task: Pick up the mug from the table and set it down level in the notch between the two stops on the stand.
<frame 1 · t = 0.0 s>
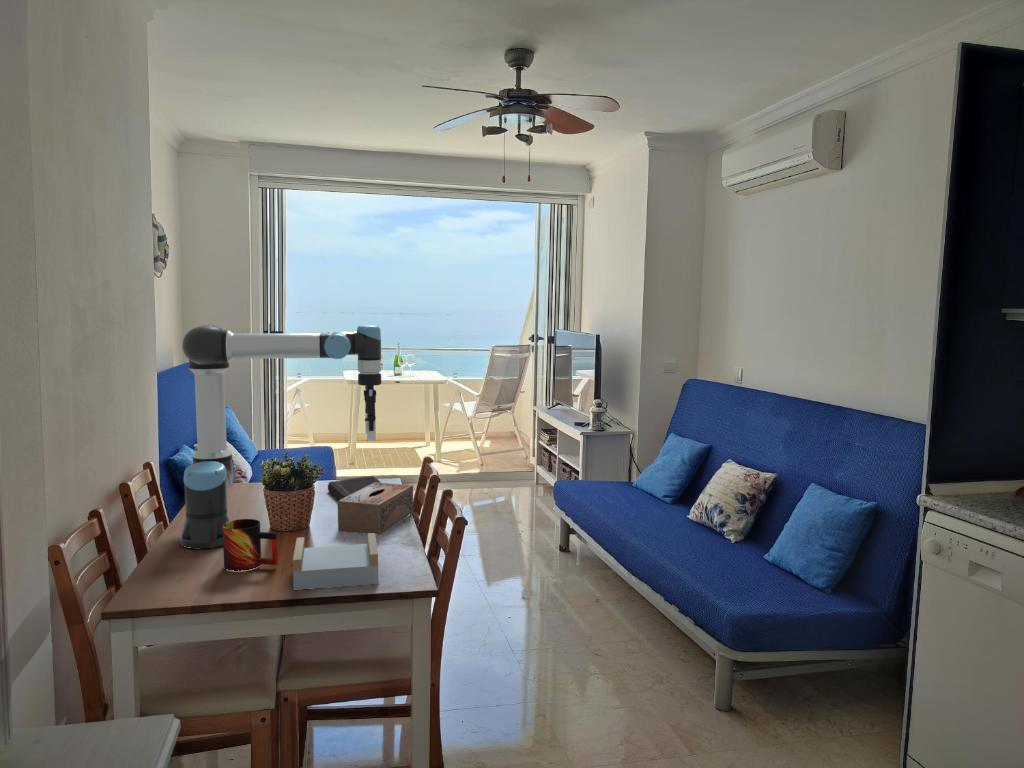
hand: (370, 437, 244), 28 cm above the table, tool pointing down, fingers open, 13 cm apart
diary: (361, 498, 276), on the table
mug: (251, 566, 204), on the table
notched stand: (336, 574, 197), on the table
tissue box cover: (377, 522, 245), on the table
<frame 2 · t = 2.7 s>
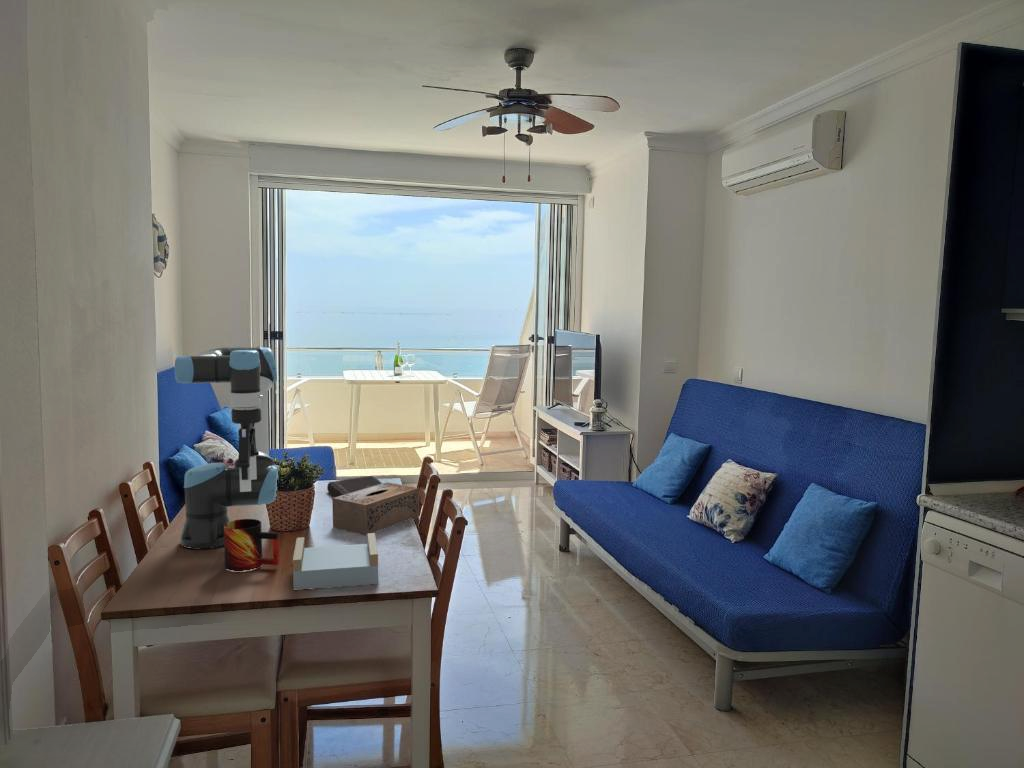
hand: (248, 485, 201), 23 cm above the table, tool pointing down, fingers open, 13 cm apart
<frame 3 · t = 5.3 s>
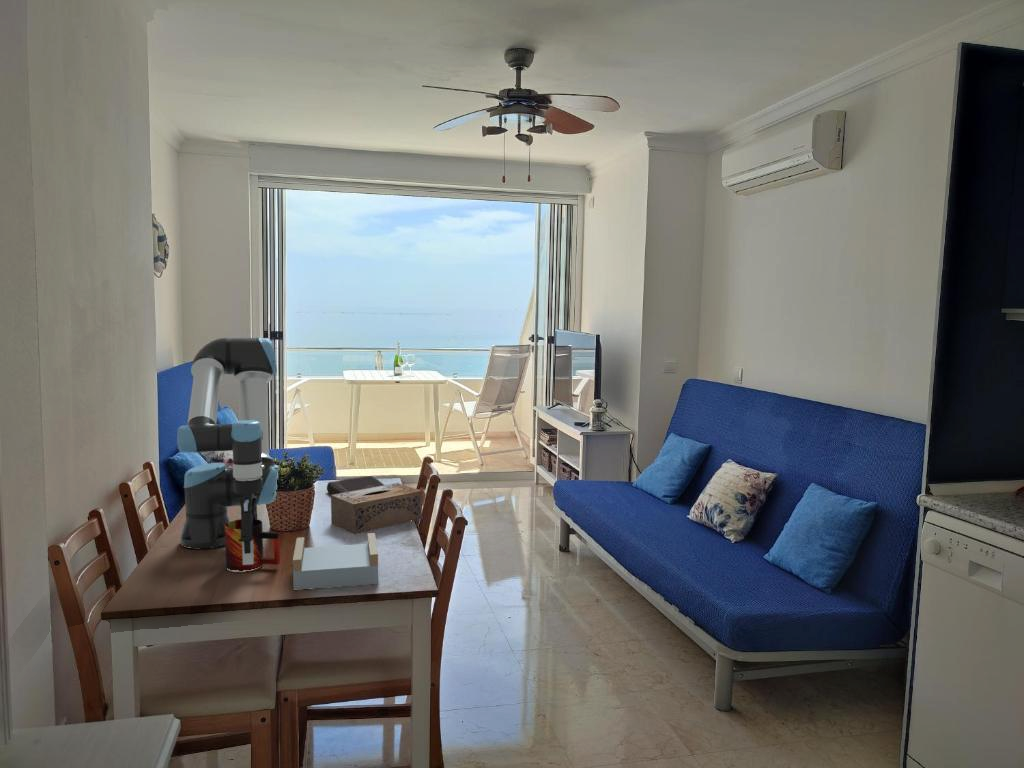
hand: (250, 557, 203), 2 cm above the table, tool pointing down, fingers closed on mug, 10 cm apart
mug: (253, 566, 204), on the table, touching gripper
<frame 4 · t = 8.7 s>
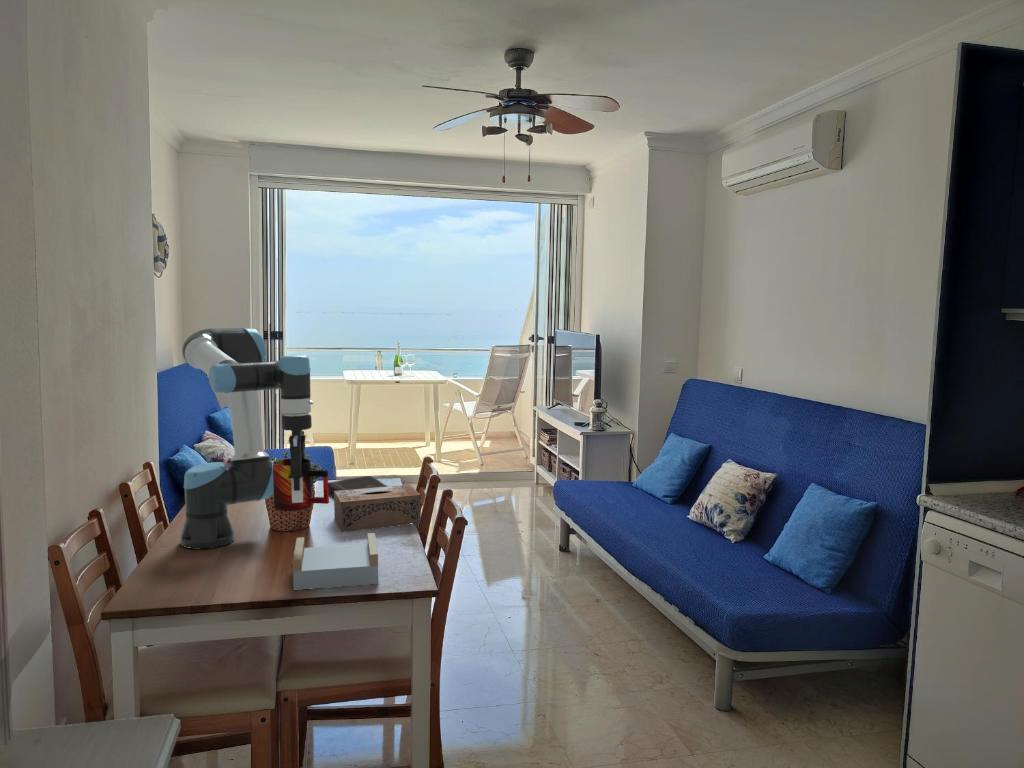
hand: (299, 497, 197), 20 cm above the table, tool pointing down, fingers closed on mug, 10 cm apart
mug: (301, 506, 197), point 18 cm above the table, touching gripper
when the fingers open (9 cm above the table, at t = 12.3 s): mug drops 2 cm, resting on notched stand.
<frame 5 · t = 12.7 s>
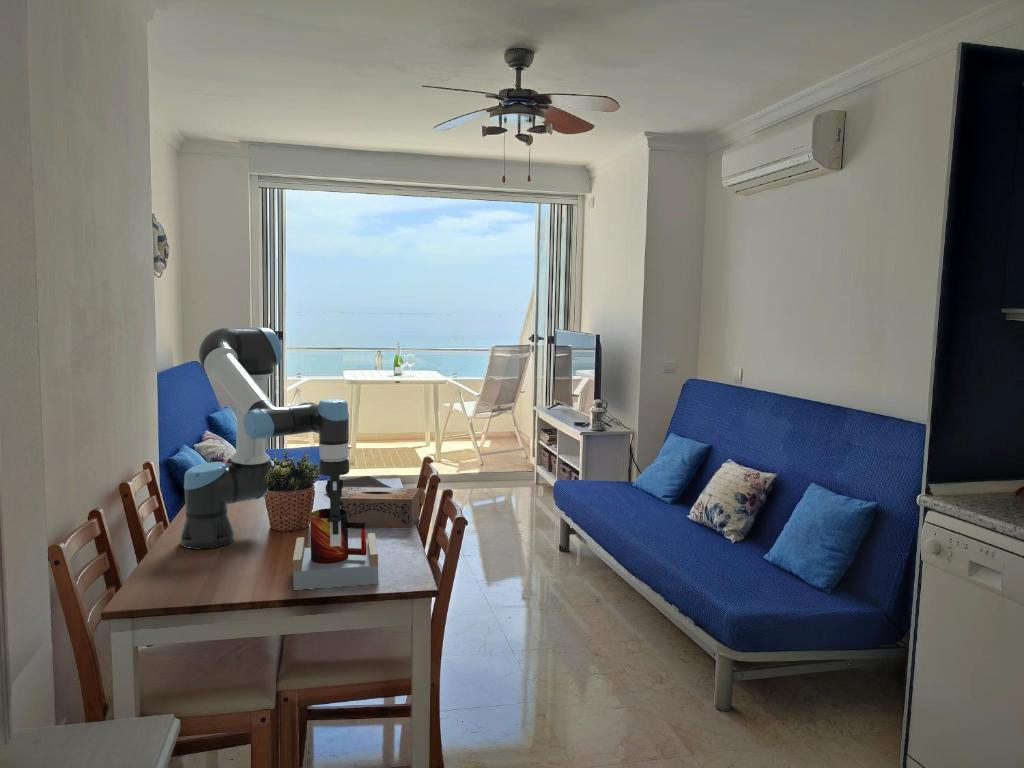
hand: (335, 537, 196), 10 cm above the table, tool pointing down, fingers open, 13 cm apart
mug: (337, 557, 197), point 5 cm above the table, touching notched stand
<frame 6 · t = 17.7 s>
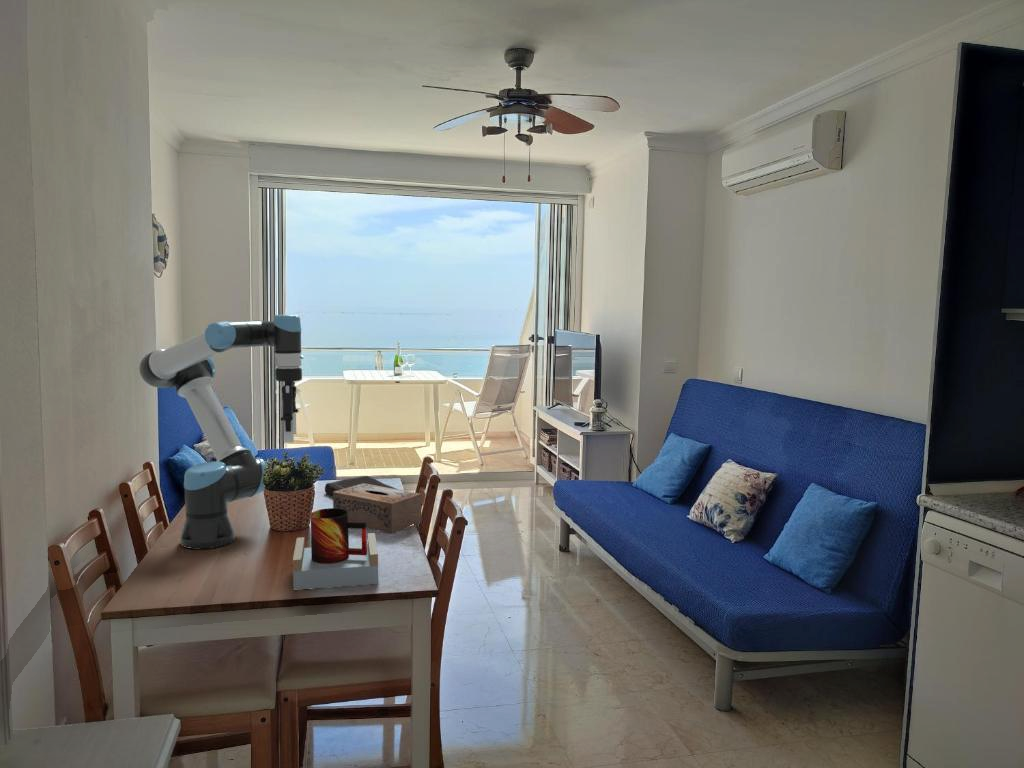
hand: (290, 438, 221), 32 cm above the table, tool pointing down, fingers open, 13 cm apart
at the end: mug inside the target area on the notched stand (0.6 cm from its centre), point 4.8 cm above the notched stand's base; mug tilted 0°; the gripper is holding nothing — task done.
